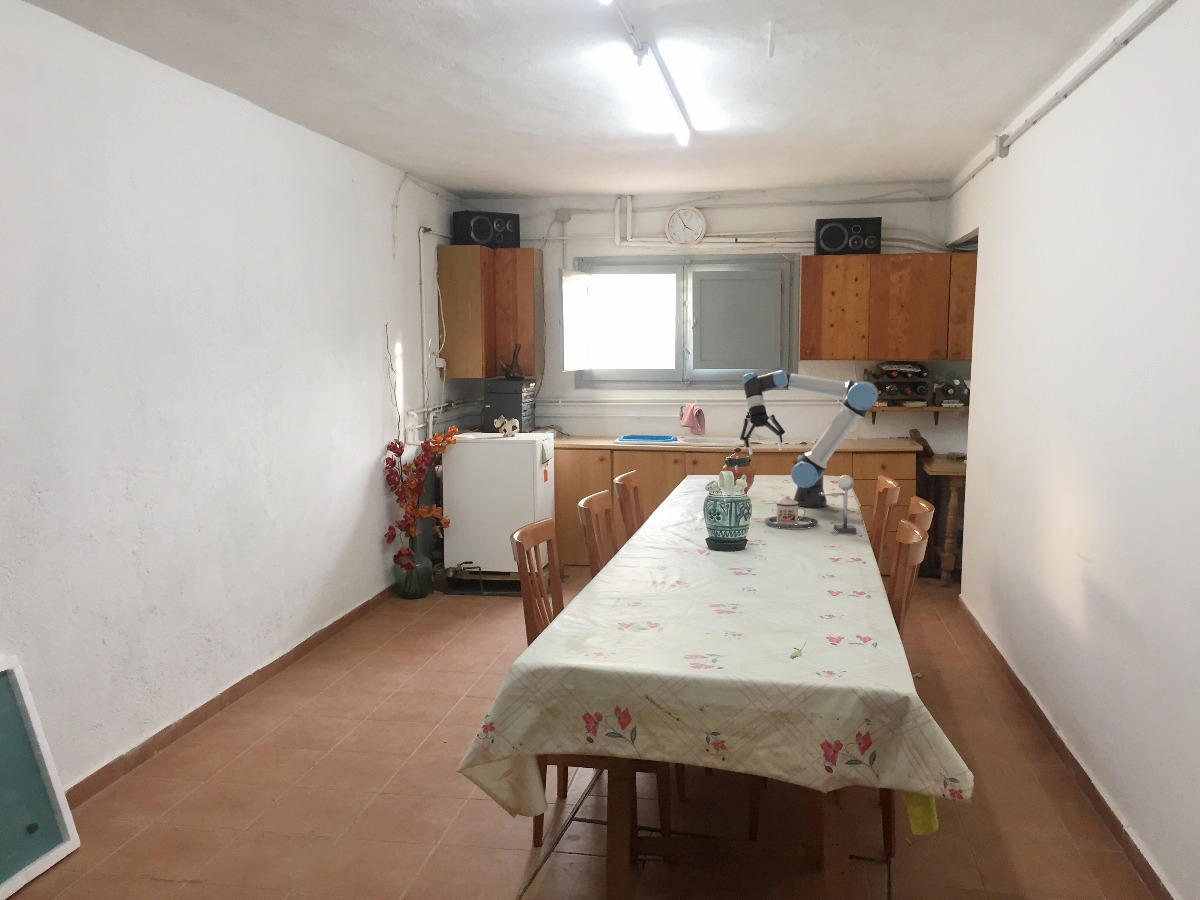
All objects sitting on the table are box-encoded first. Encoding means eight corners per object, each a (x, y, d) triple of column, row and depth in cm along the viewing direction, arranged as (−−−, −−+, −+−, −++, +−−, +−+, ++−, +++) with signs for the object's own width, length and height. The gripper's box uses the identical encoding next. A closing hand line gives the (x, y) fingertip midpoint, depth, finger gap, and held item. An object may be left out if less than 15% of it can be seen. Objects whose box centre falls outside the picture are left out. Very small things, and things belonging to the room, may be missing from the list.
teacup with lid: (775, 525, 371) (775, 497, 370) (777, 521, 380) (777, 494, 378) (805, 526, 368) (805, 498, 366) (806, 522, 376) (806, 494, 375)
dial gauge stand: (851, 529, 361) (852, 473, 359) (856, 533, 354) (857, 476, 352) (816, 529, 361) (816, 474, 359) (820, 533, 354) (821, 476, 352)
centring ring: (810, 518, 384) (810, 515, 384) (822, 528, 363) (822, 525, 363) (761, 519, 384) (761, 515, 384) (770, 529, 363) (770, 525, 363)
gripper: (781, 405, 410) (790, 450, 406) (727, 412, 408) (737, 458, 403) (785, 400, 403) (795, 446, 398) (731, 408, 401) (740, 454, 396)
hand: (766, 452), depth 401 cm, fingers open, 13 cm apart
